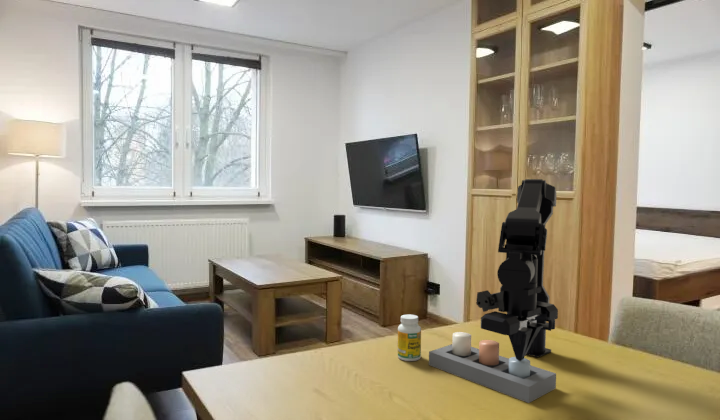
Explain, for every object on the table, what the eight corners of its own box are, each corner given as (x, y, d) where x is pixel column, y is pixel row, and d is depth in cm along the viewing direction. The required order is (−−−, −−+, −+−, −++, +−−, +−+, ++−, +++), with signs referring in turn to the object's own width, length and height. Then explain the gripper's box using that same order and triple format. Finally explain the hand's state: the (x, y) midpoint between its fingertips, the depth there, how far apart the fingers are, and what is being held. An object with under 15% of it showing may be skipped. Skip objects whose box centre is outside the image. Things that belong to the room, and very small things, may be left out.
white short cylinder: (459, 348, 107) (460, 330, 107) (474, 353, 104) (475, 335, 104) (448, 352, 104) (448, 334, 104) (463, 357, 101) (463, 338, 101)
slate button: (515, 374, 96) (515, 355, 96) (533, 381, 93) (534, 361, 93) (504, 379, 94) (504, 359, 94) (522, 386, 91) (523, 365, 91)
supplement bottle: (410, 352, 113) (411, 312, 113) (425, 358, 109) (426, 317, 108) (392, 356, 110) (393, 315, 110) (407, 363, 106) (407, 320, 105)
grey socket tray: (457, 354, 111) (457, 342, 111) (555, 388, 93) (556, 373, 93) (428, 364, 105) (429, 351, 105) (528, 403, 87) (529, 386, 86)
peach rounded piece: (486, 357, 102) (486, 338, 101) (502, 362, 99) (503, 343, 98) (475, 361, 99) (475, 342, 99) (491, 366, 96) (491, 347, 96)
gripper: (511, 270, 105) (509, 339, 106) (458, 280, 93) (456, 359, 93) (560, 277, 96) (557, 353, 97) (508, 290, 84) (506, 376, 85)
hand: (519, 359), depth 93 cm, fingers closed
